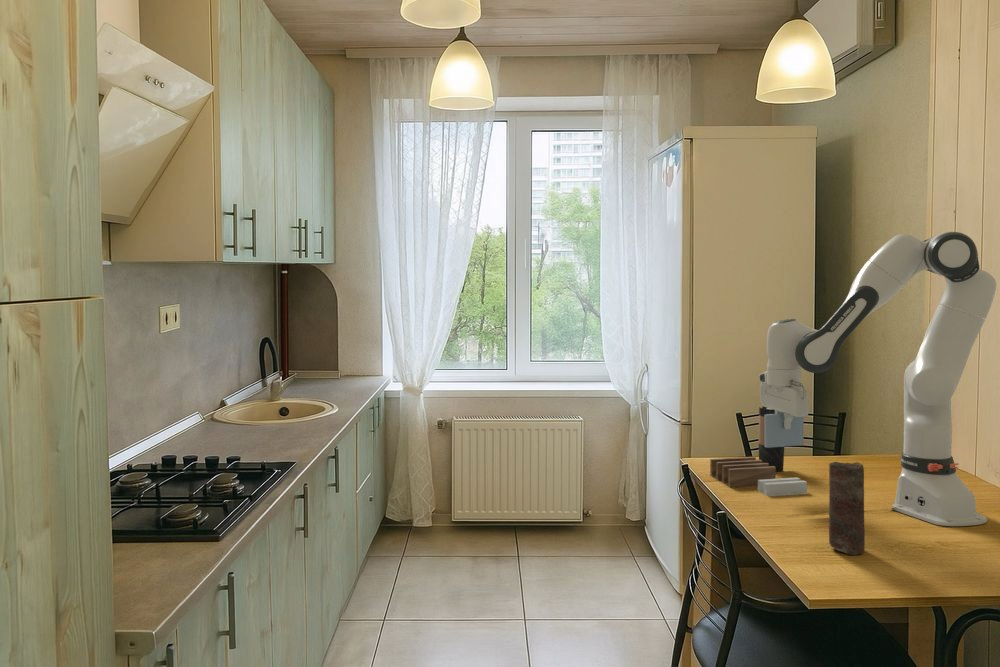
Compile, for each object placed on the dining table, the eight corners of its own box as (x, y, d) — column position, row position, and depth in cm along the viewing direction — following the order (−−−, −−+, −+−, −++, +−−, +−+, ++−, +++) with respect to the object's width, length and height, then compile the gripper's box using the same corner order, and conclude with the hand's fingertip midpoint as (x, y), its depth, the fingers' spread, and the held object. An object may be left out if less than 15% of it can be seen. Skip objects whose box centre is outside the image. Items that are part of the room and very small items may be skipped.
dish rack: (776, 487, 233) (776, 467, 232) (730, 490, 230) (730, 470, 230) (753, 475, 246) (753, 456, 246) (709, 478, 244) (709, 458, 244)
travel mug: (787, 474, 248) (788, 409, 246) (762, 474, 248) (763, 409, 246) (779, 467, 255) (780, 405, 254) (755, 468, 256) (755, 405, 254)
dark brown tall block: (822, 549, 182) (823, 462, 180) (836, 541, 187) (837, 456, 186) (856, 558, 177) (858, 468, 175) (869, 549, 182) (871, 462, 180)
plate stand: (808, 497, 223) (808, 482, 223) (768, 499, 221) (768, 485, 221) (795, 490, 230) (795, 476, 230) (755, 492, 228) (756, 478, 228)
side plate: (803, 445, 224) (803, 413, 224) (766, 447, 223) (766, 415, 222) (801, 444, 226) (801, 412, 225) (764, 446, 224) (764, 414, 223)
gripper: (814, 382, 213) (815, 434, 214) (776, 373, 233) (776, 420, 234) (792, 383, 212) (793, 435, 213) (755, 374, 232) (756, 422, 233)
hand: (784, 427), depth 224 cm, fingers closed on side plate, 1 cm apart
